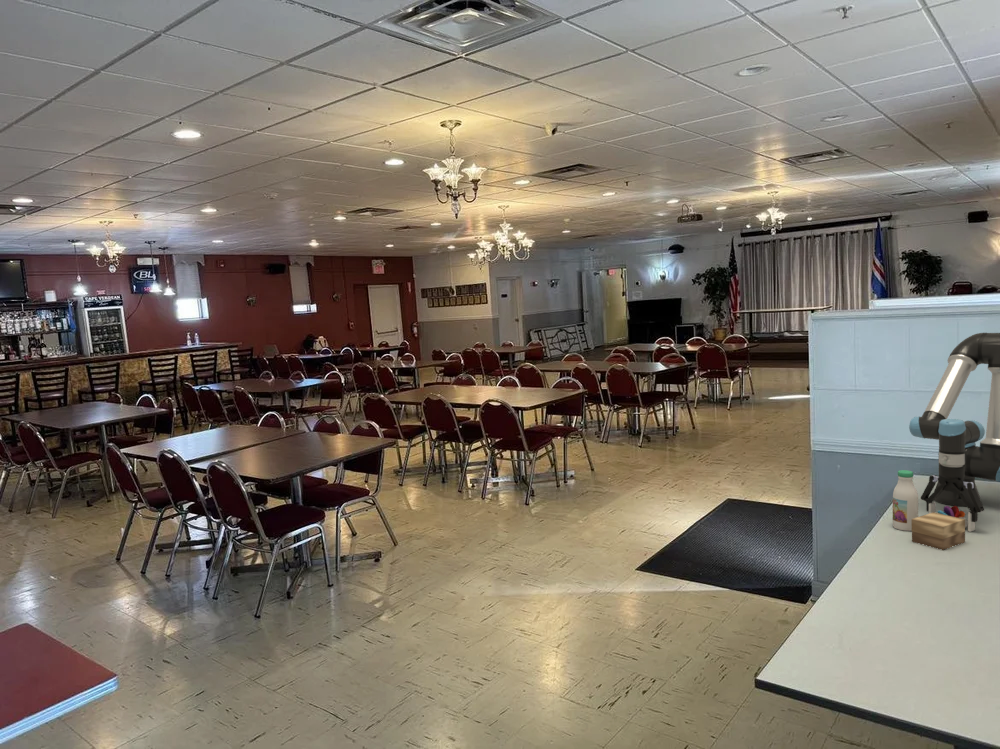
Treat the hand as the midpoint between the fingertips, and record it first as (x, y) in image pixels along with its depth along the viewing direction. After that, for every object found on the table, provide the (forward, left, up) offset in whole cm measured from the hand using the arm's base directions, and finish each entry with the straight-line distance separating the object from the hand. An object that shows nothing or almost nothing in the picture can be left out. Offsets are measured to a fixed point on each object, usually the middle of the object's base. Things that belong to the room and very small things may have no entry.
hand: (951, 525), depth 240 cm
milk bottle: (+13, -8, 0) cm, 15 cm away
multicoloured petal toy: (0, 0, 0) cm, 1 cm away
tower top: (+18, +6, +3) cm, 19 cm away
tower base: (+18, +6, -1) cm, 19 cm away
